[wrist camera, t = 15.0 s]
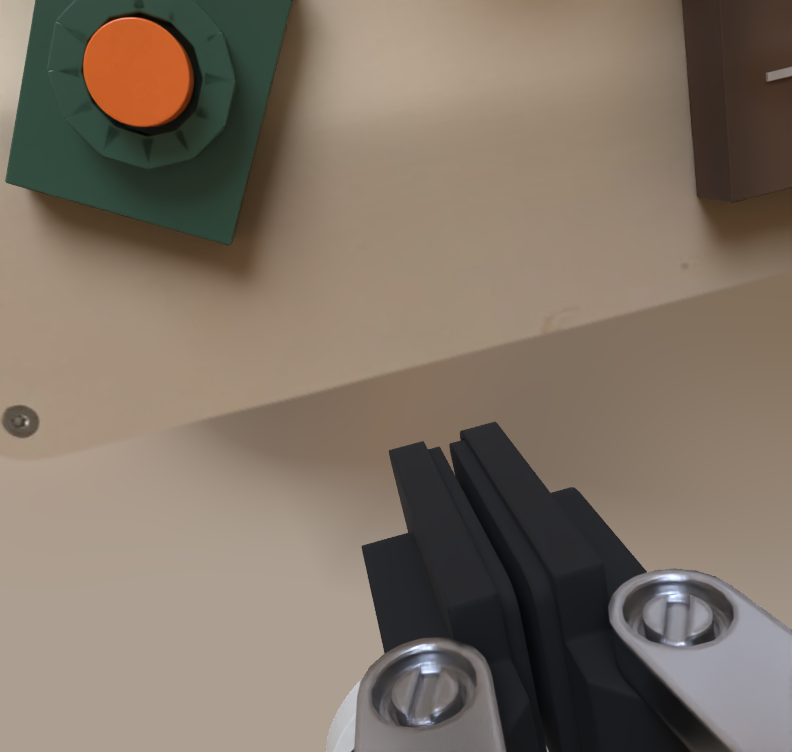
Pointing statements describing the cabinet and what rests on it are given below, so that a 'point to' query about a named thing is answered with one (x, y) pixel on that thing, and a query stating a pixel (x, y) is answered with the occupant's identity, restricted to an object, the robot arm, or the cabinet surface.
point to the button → (138, 72)
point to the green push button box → (149, 146)
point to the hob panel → (740, 95)
